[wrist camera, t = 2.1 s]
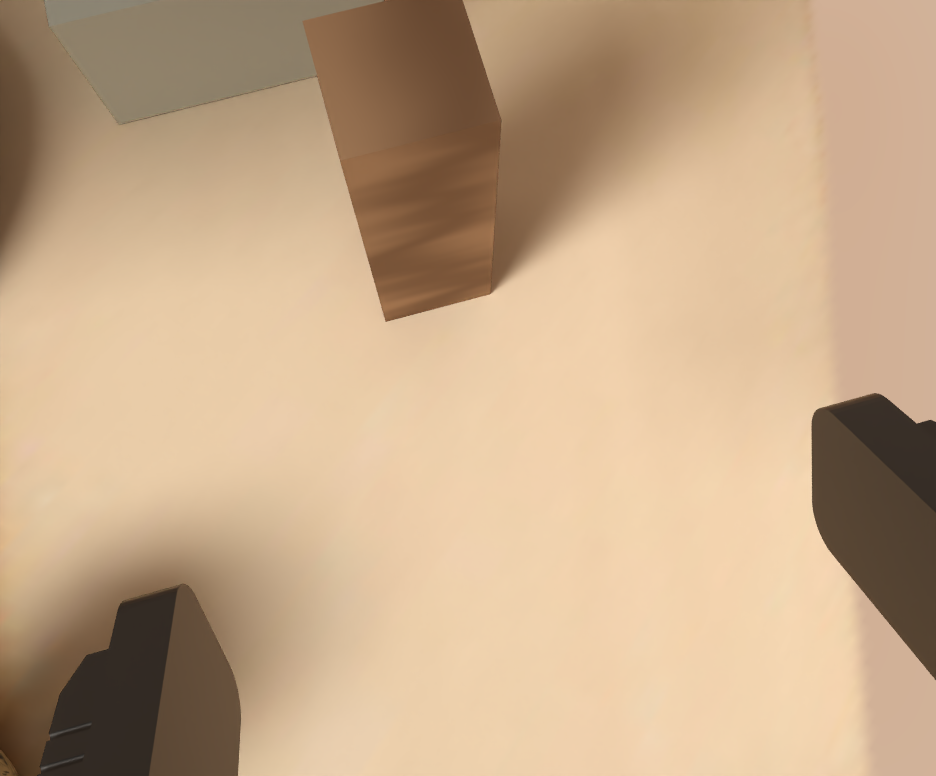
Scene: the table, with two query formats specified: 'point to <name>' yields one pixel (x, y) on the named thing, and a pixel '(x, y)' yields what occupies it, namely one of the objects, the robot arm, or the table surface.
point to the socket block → (186, 48)
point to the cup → (6, 766)
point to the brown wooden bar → (413, 146)
